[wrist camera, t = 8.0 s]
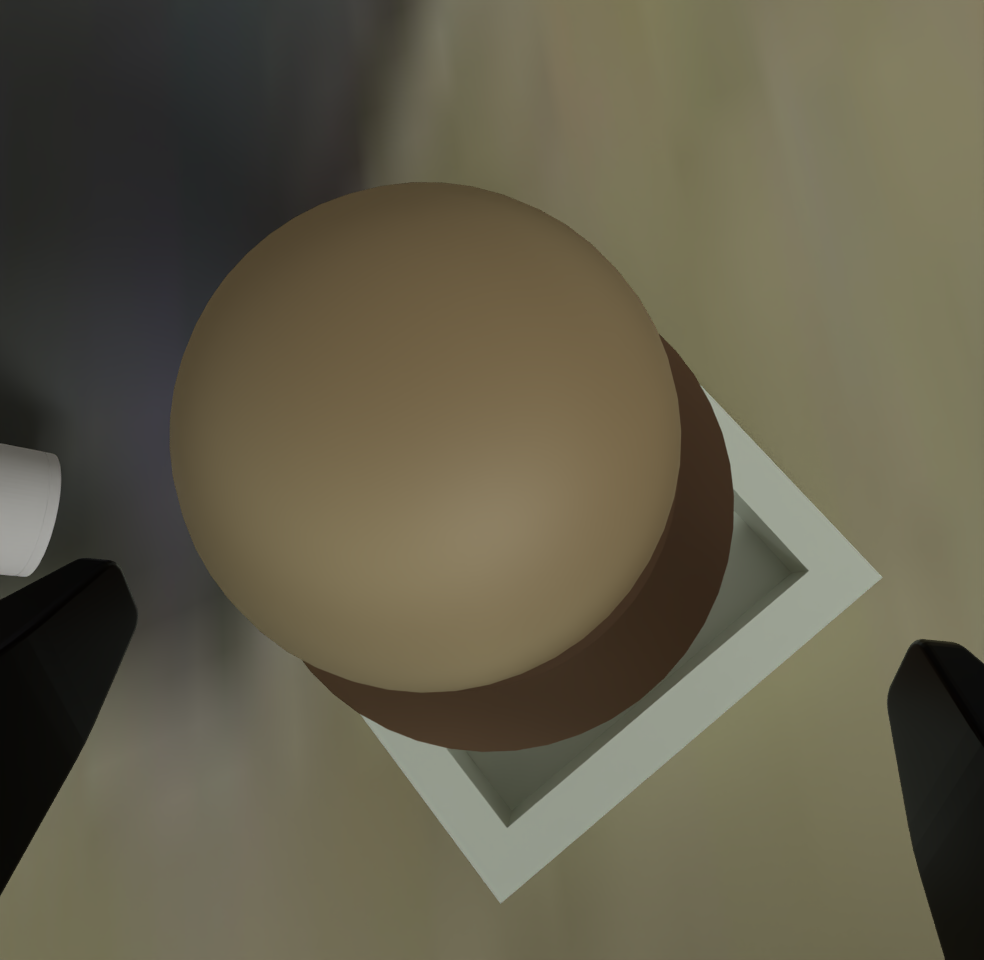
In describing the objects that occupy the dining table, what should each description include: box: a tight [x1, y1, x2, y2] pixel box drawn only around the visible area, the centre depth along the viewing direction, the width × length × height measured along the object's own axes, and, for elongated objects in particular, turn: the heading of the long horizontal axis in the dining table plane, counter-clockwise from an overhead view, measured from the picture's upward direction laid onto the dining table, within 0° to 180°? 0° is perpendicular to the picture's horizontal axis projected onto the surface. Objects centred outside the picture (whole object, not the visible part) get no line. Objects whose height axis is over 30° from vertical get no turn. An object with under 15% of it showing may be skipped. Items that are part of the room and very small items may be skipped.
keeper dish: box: [360, 385, 882, 904], centre depth 16 cm, size 10×10×2 cm
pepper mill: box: [170, 182, 734, 752], centre depth 10 cm, size 5×5×14 cm
